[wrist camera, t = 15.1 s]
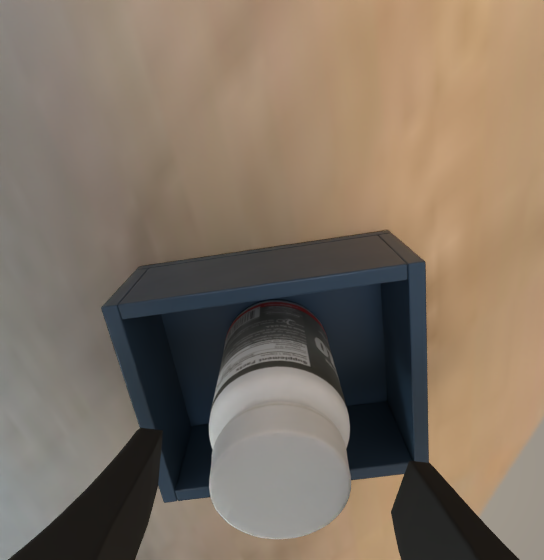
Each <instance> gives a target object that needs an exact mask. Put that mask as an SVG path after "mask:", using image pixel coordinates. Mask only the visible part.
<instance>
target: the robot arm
mask: <svg viewBox="0 0 544 560" xmlns="http://www.w3.org/2000/svg"><path fill="white" fill-rule="evenodd" d="M162 434H163V430H156V429H148V428H140V429H138V430H137V431H136V432H135V434H134V435H133V436H132V438H131V439H130V440H129V441H128V443H127V444H126V445H125V446H124V448H123V449H122V450H121V451H120V452H119V454H118V455H117V456H116V457H115V458H114V459H113V461H112V462H111V463H110V464H109V465H108V466H107V467H106V468H105V470H104V471H103V472H102V473H101V474H100V475H99V476H98V477H97V478H96V479H95V480H94V481H93V483H92V484H91V485H90V486H89V487H88V488H87V489H86V490H85V491H84V492H83V493H82V494H81V495H80V496H79V497H78V498H77V499H76V500H75V501H74V502H73V503H72V504H71V505H70V506H69V507H68V508H67V509H66V510H65V511H64V512H63V513H62V514H60V515H59V516H58V517H57V518H56V519H55V520H54V521H53V522H52V523H51V524H50V525H48V526H47V527H46V528H45V529H44V530H43V531H42V532H41V533H39V534H38V535H37V536H36V537H35V538H34V539H32V540H31V541H30V542H29V543H28V544H27V545H25V546H24V547H23V548H22V549H21V550H19V551H18V552H17V553H16V554H14V555H13V556H12V557H11V558H9V559H8V560H135V558H136V555H137V552H138V550H139V547H140V544H141V541H142V539H143V536H144V533H145V531H146V528H147V525H148V522H149V518H150V514H151V511H152V507H153V503H154V499H155V495H156V492H157V488H158V481H159V469H160V458H161V446H162ZM391 514H392V519H393V525H394V530H395V535H396V540H397V545H398V549H399V553H400V556H401V559H402V560H519V559H518V558H517V557H516V556H515V555H514V554H513V553H512V552H511V551H510V550H509V549H508V548H507V547H506V546H505V545H504V544H503V543H502V542H501V541H500V539H499V538H498V537H497V536H496V535H495V534H494V533H493V532H492V531H491V530H490V529H489V528H488V527H487V526H486V525H485V524H484V523H483V521H482V520H481V519H480V518H479V517H478V516H477V515H476V514H475V513H474V512H473V510H472V509H471V508H470V507H469V506H468V505H467V504H466V503H465V502H464V500H463V499H462V498H461V497H460V496H459V495H458V494H457V493H456V492H455V490H454V489H453V488H452V487H451V486H450V485H449V484H448V483H447V481H446V480H445V479H444V478H443V477H442V476H441V475H440V474H439V473H438V471H437V470H436V469H435V468H434V467H433V466H432V465H431V464H430V463H426V462H417V461H409V463H408V466H407V469H406V471H405V474H404V477H403V480H402V483H401V485H400V488H399V491H398V494H397V497H396V499H395V502H394V505H393V508H392V511H391Z"/></svg>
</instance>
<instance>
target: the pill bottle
mask: <svg viewBox="0 0 544 560" xmlns="http://www.w3.org/2000/svg"><path fill="white" fill-rule="evenodd" d="M349 436H350V422H349V414H348V410H347V406H346V403H345V399H344V396H343V392H342V389H341V386H340V382H339V378H338V375H337V371H336V368H335V364H334V361H333V357H332V354H331V350H330V347H329V343H328V339H327V336H326V333H325V330H324V328H323V326H322V324H321V323H320V321H319V320H318V319H317V318H316V316H315V315H314V314H313V313H311V312H310V311H309V310H308V309H306V308H304V307H303V306H300V305H298V304H295V303H292V302H288V301H282V300H270V301H264V302H260V303H257V304H255V305H253V306H251V307H249V308H247V309H246V310H244V311H243V312H242V313H241V314H240V315H238V317H237V318H236V319H235V320H234V321H233V323H232V324H231V326H230V328H229V330H228V333H227V336H226V340H225V346H224V352H223V357H222V362H221V366H220V371H219V376H218V381H217V386H216V389H215V394H214V399H213V403H212V407H211V413H210V420H209V438H210V443H211V446H212V449H213V451H212V460H211V471H210V478H209V491H210V496H211V500H212V502H213V505H214V507H215V509H216V510H217V512H218V513H219V514H220V516H221V517H222V518H223V519H224V520H225V521H226V522H228V523H229V524H230V525H232V526H233V527H235V528H236V529H238V530H240V531H242V532H244V533H246V534H249V535H252V536H256V537H260V538H267V539H290V538H297V537H301V536H305V535H308V534H310V533H313V532H315V531H317V530H319V529H321V528H323V527H325V526H326V525H328V524H329V523H330V522H331V521H333V520H334V519H335V518H336V517H337V516H338V515H339V514H340V513H341V511H342V510H343V508H344V507H345V505H346V503H347V501H348V498H349V495H350V491H351V475H350V470H349V465H348V459H347V451H346V448H347V445H348V441H349Z"/></svg>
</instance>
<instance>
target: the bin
mask: <svg viewBox="0 0 544 560" xmlns="http://www.w3.org/2000/svg"><path fill="white" fill-rule="evenodd" d="M270 300H282V301H288V302H292V303H295V304H298V305H300V306H303V307H304V308H306V309H308V310H309V311H310V312H311V313H313V314H314V315H315V316H316V318H317V319H318V320H319V321H320V323H321V324H322V326H323V328H324V330H325V333H326V336H327V339H328V343H329V347H330V350H331V354H332V357H333V361H334V364H335V368H336V371H337V375H338V378H339V382H340V386H341V389H342V392H343V396H344V399H345V403H346V406H347V410H348V414H349V422H350V436H349V441H348V445H347V448H346V451H347V459H348V465H349V470H350V475H351V480H357V479H365V478H374V477H382V476H390V475H399V474H405V471H406V469H407V466H408V463H409V461H417V462H426V463H429V450H428V389H427V329H426V269H425V261H424V260H423V259H422V258H420V257H419V256H418V255H417V254H416V253H414V252H413V251H412V250H411V249H410V248H409V247H407V246H406V245H405V244H404V243H403V242H401V241H400V240H399V239H398V238H397V237H396V236H394V235H393V234H392V233H391V232H390V231H388V230H386V231H380V232H373V233H366V234H359V235H352V236H345V237H338V238H331V239H325V240H318V241H311V242H304V243H297V244H290V245H283V246H276V247H269V248H263V249H256V250H249V251H242V252H235V253H228V254H221V255H214V256H208V257H201V258H194V259H187V260H180V261H173V262H166V263H159V264H152V265H146V266H139V267H138V268H137V269H136V271H135V272H134V273H133V274H132V275H131V276H130V277H129V278H128V279H127V280H126V281H125V282H124V283H123V285H122V286H121V287H120V288H119V289H118V290H117V291H116V292H115V293H114V294H113V295H112V296H111V297H110V299H109V300H108V301H107V302H106V303H105V304H104V305H103V306H102V307H101V309H102V312H103V315H104V318H105V322H106V325H107V328H108V331H109V334H110V337H111V340H112V343H113V346H114V349H115V352H116V356H117V359H118V362H119V365H120V368H121V371H122V374H123V377H124V380H125V383H126V386H127V390H128V393H129V396H130V399H131V402H132V405H133V408H134V411H135V414H136V417H137V421H138V424H139V427H140V428H148V429H156V430H163V434H162V446H161V458H160V469H159V481H158V486H159V489H160V492H161V495H162V498H163V501H164V502H165V503H166V502H174V501H177V499H178V501H182V500H190V499H199V498H207V497H211V496H210V491H209V478H210V471H211V460H212V451H213V449H212V446H211V443H210V438H209V420H210V413H211V407H212V403H213V399H214V394H215V389H216V386H217V381H218V376H219V371H220V366H221V362H222V357H223V352H224V346H225V340H226V336H227V333H228V330H229V328H230V326H231V324H232V323H233V321H234V320H235V319H236V318H237V317H238V315H240V314H241V313H242V312H243V311H244V310H246V309H247V308H249V307H251V306H253V305H255V304H257V303H260V302H264V301H270Z"/></svg>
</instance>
